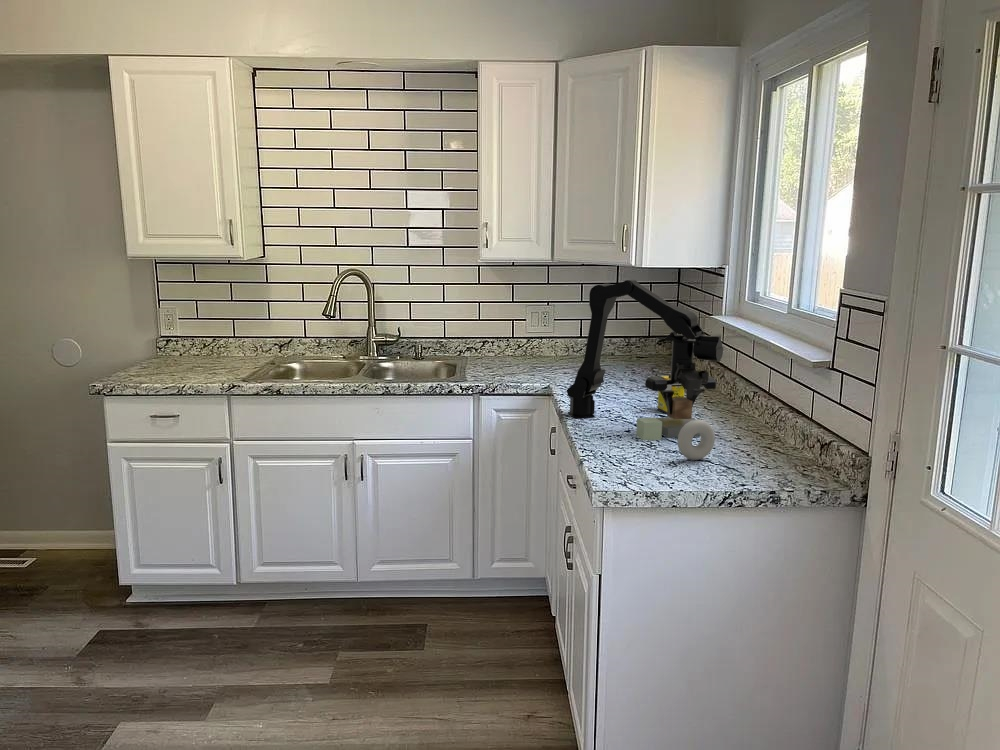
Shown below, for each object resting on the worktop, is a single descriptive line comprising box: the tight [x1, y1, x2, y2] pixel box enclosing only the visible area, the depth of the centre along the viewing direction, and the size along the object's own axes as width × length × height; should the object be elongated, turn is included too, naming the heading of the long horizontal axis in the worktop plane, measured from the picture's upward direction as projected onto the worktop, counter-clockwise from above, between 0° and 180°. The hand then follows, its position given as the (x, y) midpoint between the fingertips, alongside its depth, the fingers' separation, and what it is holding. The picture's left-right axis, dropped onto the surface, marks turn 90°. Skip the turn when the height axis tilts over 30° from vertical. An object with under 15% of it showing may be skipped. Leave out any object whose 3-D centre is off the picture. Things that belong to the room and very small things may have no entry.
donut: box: [677, 419, 716, 461], centre depth 184 cm, size 10×3×10 cm, turn 110°
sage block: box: [635, 417, 662, 442], centre depth 204 cm, size 5×5×5 cm
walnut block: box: [666, 396, 693, 420], centre depth 211 cm, size 5×5×5 cm
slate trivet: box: [655, 416, 701, 439], centre depth 212 cm, size 12×12×2 cm
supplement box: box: [657, 375, 686, 415], centre depth 234 cm, size 6×6×11 cm
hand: (679, 413), depth 211 cm, fingers closed on walnut block, 5 cm apart
